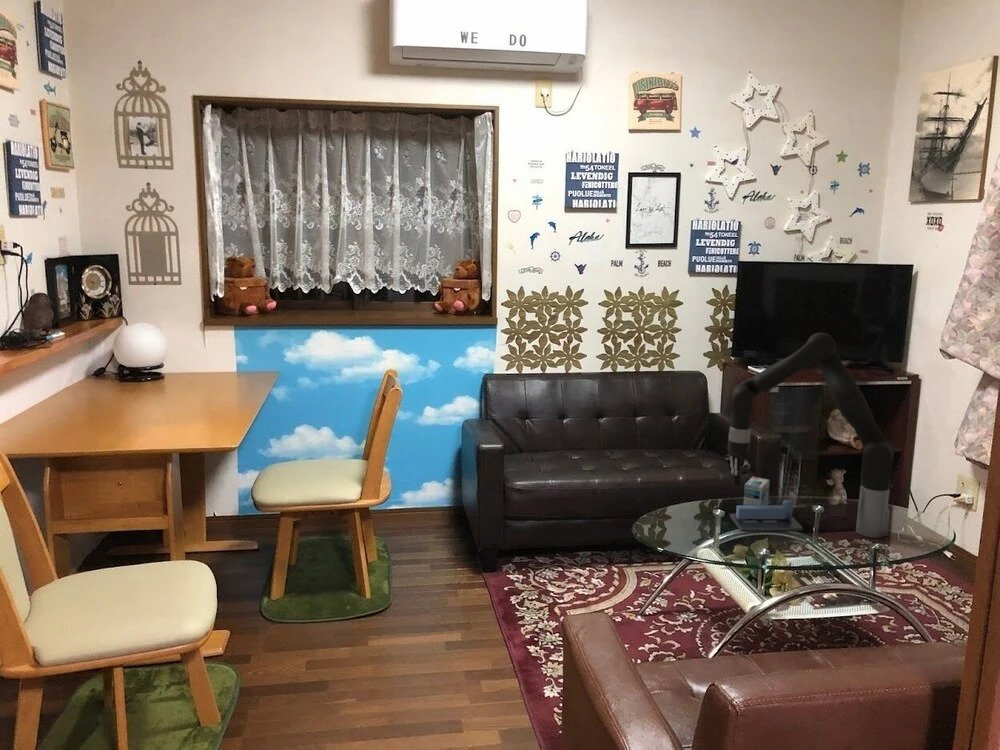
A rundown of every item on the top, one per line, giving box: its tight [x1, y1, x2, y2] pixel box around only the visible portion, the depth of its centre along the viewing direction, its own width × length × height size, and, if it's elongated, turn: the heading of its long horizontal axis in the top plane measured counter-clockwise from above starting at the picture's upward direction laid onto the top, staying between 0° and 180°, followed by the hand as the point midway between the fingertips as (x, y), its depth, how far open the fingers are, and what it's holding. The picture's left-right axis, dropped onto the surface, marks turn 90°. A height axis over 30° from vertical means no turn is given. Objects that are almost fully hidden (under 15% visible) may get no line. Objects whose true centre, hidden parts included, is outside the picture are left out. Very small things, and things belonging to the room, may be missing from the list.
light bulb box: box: [743, 476, 771, 505], centre depth 301 cm, size 11×7×11 cm, turn 147°
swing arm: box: [735, 499, 794, 519], centre depth 288 cm, size 20×4×6 cm, turn 90°
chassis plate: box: [729, 513, 804, 532], centre depth 288 cm, size 22×13×2 cm, turn 90°
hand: (735, 484), depth 294 cm, fingers closed
